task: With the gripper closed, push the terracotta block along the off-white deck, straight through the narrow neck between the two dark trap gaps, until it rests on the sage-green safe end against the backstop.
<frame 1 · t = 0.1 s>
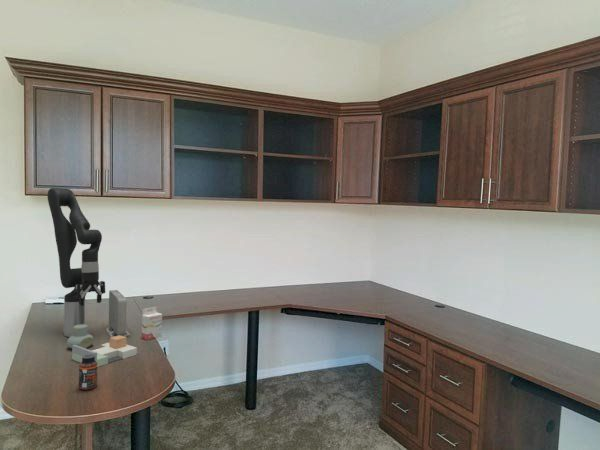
hand: (90, 304, 205), 17 cm above the table, tool pointing down, fingers open, 8 cm apart
block: (117, 346, 188), point 3 cm above the table, touching deck
deck: (105, 356, 183), on the table
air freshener: (80, 347, 194), on the table
ink cartridge box: (151, 338, 211), on the table
network device: (117, 332, 218), on the table
supplement bottle: (87, 387, 152), on the table
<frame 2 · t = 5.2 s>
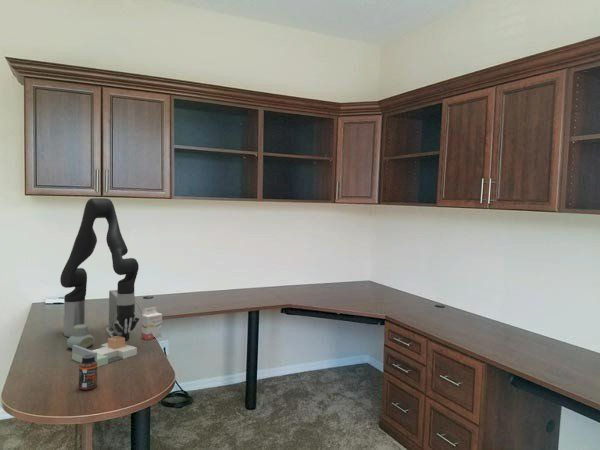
hand: (125, 340, 191), 5 cm above the table, tool pointing down, fingers closed
block: (116, 346, 187), point 3 cm above the table, touching gripper
everything else where it was.
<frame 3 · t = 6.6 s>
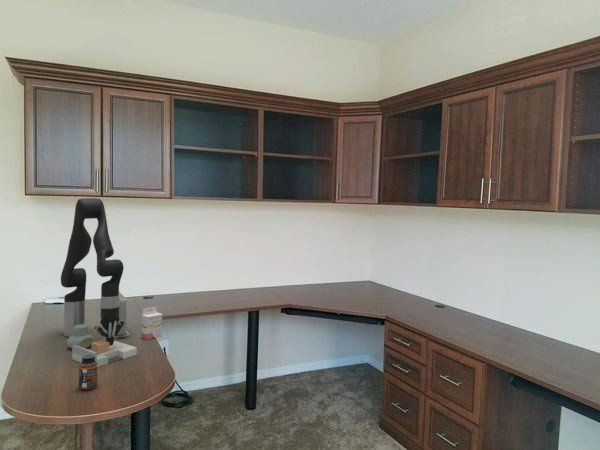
hand: (109, 345, 184), 5 cm above the table, tool pointing down, fingers closed
block: (100, 351, 180), point 3 cm above the table, touching deck, gripper
everything else where it was.
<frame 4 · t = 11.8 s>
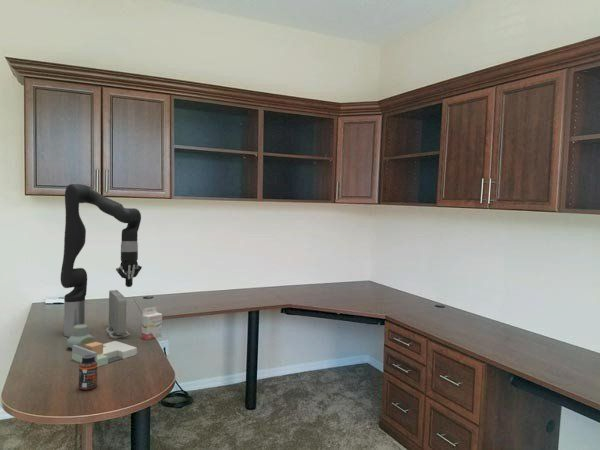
hand: (128, 286, 201), 27 cm above the table, tool pointing down, fingers closed
block: (93, 353, 178), point 3 cm above the table, touching deck
everything else where it was.
at the end: block 0.7 cm from the target spot on the deck, point 3.0 cm above the deck's base; block tilted 0° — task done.
